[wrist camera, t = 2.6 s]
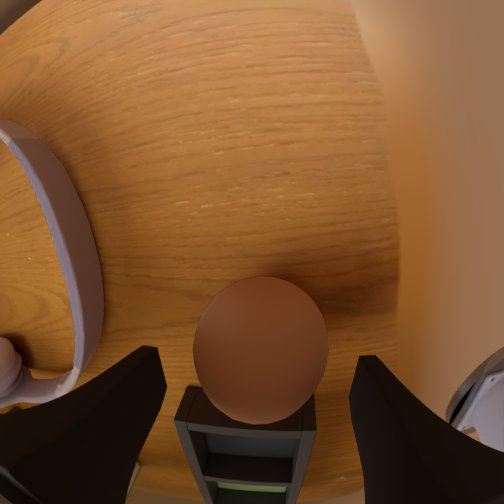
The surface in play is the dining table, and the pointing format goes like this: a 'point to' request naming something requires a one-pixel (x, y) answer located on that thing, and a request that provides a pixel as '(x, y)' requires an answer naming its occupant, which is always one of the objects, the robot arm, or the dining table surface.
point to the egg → (260, 349)
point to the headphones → (72, 263)
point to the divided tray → (245, 452)
